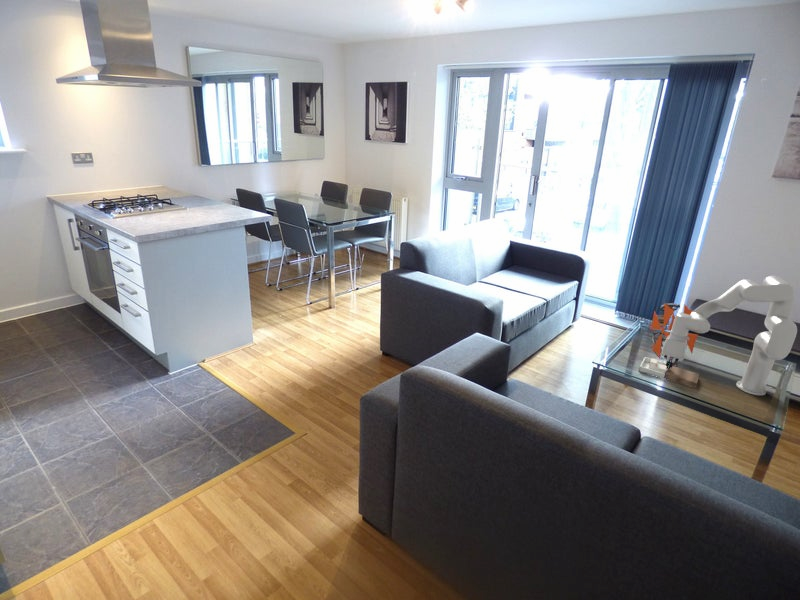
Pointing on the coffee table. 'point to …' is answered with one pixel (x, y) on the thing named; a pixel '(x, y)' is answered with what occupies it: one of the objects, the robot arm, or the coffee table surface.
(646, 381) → the coffee table surface
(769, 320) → the robot arm
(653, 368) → the tile far
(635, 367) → the coffee table surface
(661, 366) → the cream rectangular block
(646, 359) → the tray
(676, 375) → the brown wooden box
